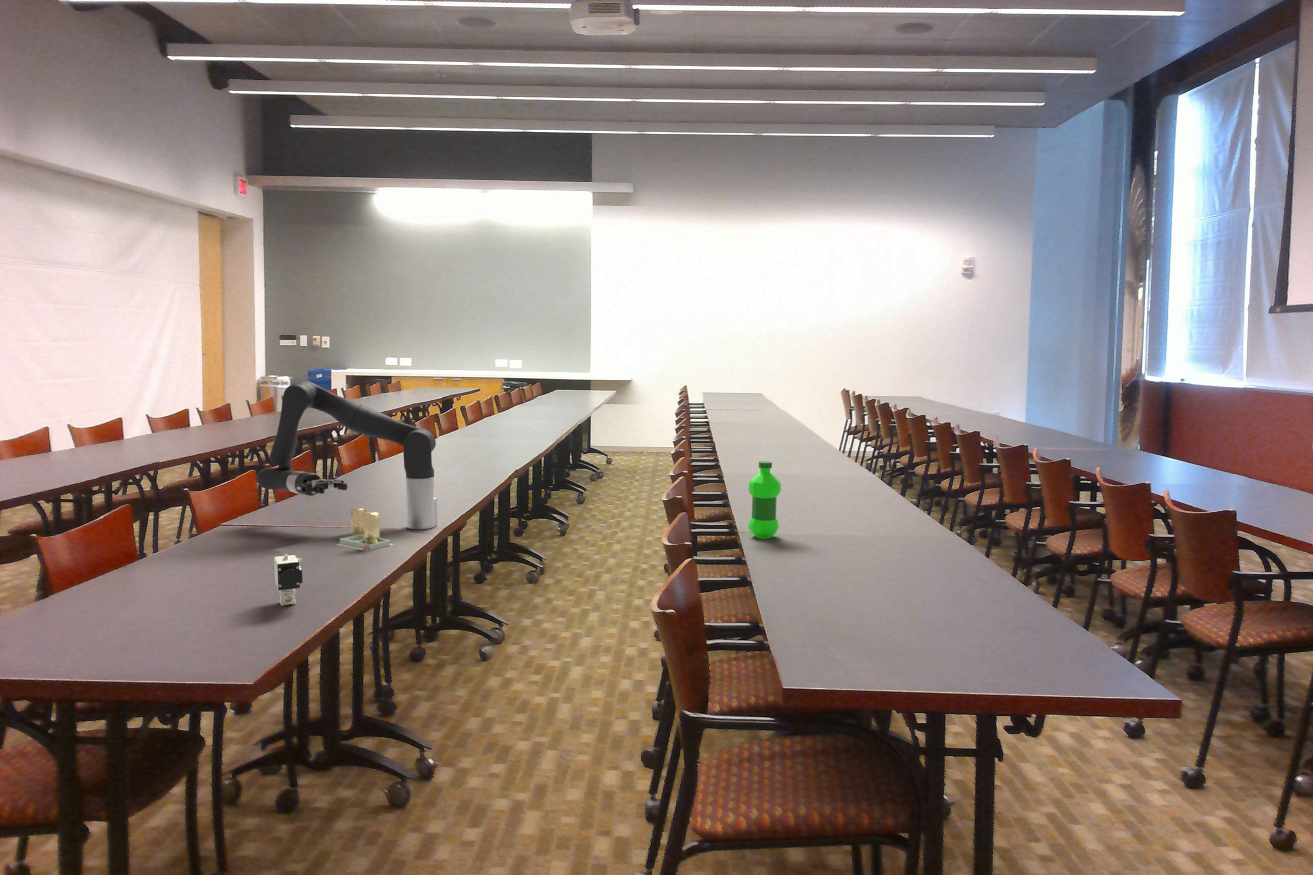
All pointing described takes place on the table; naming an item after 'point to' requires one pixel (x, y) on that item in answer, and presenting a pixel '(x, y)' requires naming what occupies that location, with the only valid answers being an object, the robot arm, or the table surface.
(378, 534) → the seated billet
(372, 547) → the pale green divided tray
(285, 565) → the pneumatic valve
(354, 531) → the billet
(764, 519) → the plastic bottle
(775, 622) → the table surface
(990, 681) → the table surface
